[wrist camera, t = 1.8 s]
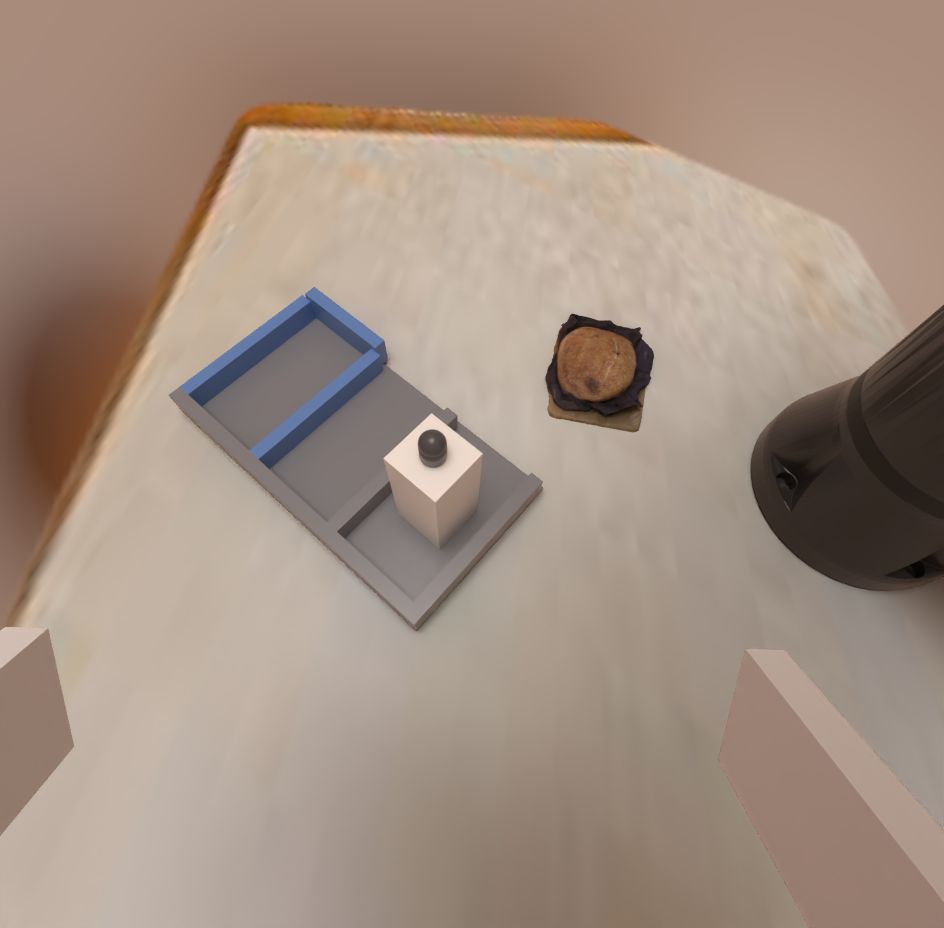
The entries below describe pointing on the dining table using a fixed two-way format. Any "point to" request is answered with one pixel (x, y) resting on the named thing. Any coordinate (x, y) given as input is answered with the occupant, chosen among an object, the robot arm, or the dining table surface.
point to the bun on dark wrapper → (599, 374)
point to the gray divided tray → (345, 448)
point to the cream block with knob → (435, 479)
